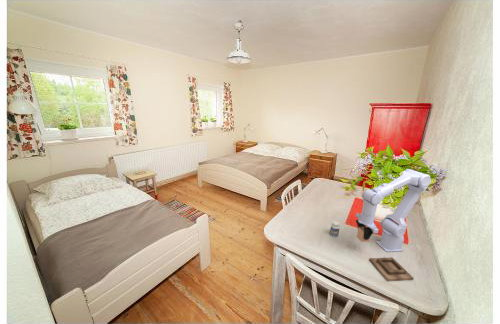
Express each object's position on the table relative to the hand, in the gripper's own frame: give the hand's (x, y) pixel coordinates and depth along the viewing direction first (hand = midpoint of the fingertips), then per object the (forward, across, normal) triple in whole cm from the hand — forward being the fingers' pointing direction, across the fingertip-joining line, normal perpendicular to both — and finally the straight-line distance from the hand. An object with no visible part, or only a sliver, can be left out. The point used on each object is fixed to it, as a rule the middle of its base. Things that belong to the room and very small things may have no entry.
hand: (363, 236), depth 99 cm
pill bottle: (+9, -13, -8) cm, 18 cm away
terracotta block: (+2, 0, 0) cm, 2 cm away
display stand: (+9, +13, +6) cm, 17 cm away
